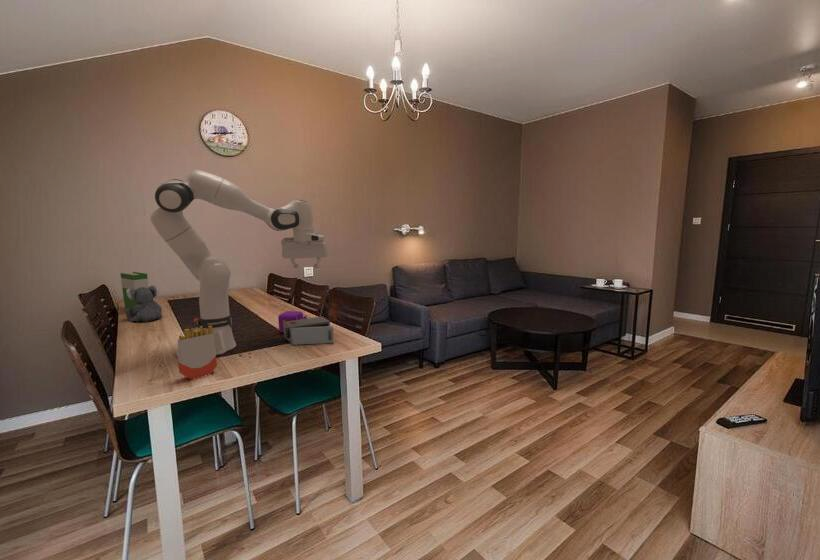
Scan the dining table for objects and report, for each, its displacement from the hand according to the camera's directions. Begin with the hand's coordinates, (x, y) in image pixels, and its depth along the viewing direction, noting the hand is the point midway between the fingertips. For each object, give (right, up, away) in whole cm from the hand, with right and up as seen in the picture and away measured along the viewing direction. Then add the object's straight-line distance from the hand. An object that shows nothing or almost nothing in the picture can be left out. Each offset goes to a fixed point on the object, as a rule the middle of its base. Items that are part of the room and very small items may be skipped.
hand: (306, 267), depth 166 cm
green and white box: (-123, -25, +64) cm, 141 cm away
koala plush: (-104, -28, +44) cm, 116 cm away
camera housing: (-1, -33, +7) cm, 34 cm away
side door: (+3, -34, -2) cm, 34 cm away
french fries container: (-28, -40, -35) cm, 60 cm away
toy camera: (-11, -31, +19) cm, 38 cm away
